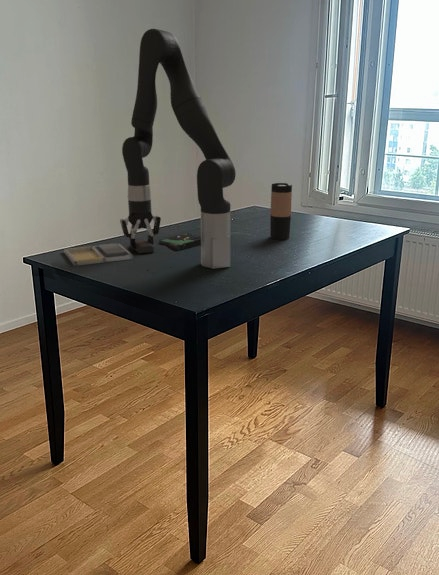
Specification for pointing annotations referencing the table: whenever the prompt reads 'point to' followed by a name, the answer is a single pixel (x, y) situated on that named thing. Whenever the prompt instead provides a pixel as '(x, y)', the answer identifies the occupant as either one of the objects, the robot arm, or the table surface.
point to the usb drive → (143, 246)
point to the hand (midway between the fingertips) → (142, 247)
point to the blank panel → (110, 250)
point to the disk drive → (181, 241)
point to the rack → (93, 255)
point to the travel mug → (280, 211)
